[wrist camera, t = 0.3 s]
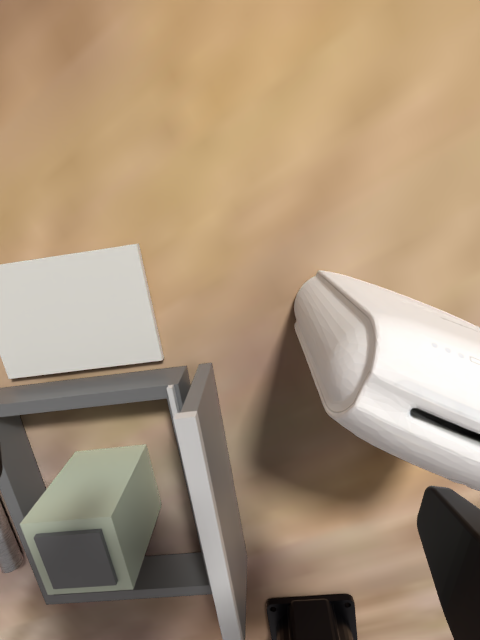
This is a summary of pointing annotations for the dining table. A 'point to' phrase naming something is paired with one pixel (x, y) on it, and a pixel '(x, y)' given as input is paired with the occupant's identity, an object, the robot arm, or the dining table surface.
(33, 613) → the dining table surface
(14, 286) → the pad
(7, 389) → the case base
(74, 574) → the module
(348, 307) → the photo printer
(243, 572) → the case lid open
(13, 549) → the rod
